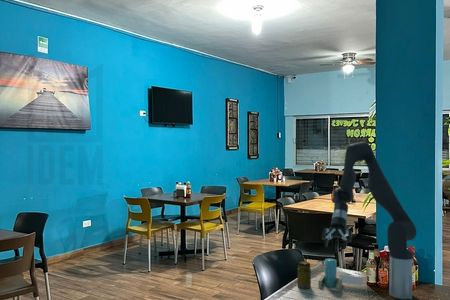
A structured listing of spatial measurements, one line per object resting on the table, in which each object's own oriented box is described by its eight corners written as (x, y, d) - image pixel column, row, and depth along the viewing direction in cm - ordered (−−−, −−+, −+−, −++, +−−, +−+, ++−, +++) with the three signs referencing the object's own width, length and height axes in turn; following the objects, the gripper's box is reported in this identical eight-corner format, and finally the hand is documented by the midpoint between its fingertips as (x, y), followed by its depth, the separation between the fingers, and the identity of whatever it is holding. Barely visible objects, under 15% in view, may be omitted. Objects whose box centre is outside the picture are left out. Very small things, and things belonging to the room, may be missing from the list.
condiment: (303, 284, 190) (303, 259, 190) (317, 289, 184) (317, 263, 184) (293, 288, 186) (293, 262, 185) (307, 293, 179) (307, 266, 179)
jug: (337, 284, 188) (337, 259, 188) (334, 289, 182) (334, 263, 182) (325, 283, 191) (326, 258, 190) (322, 288, 184) (323, 262, 184)
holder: (343, 285, 190) (343, 277, 190) (339, 292, 181) (339, 284, 180) (321, 282, 194) (321, 274, 194) (317, 288, 185) (317, 281, 185)
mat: (363, 278, 199) (363, 277, 199) (360, 286, 189) (360, 284, 189) (340, 275, 203) (340, 274, 203) (336, 282, 193) (336, 281, 193)
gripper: (324, 214, 208) (319, 241, 198) (352, 217, 202) (349, 245, 191) (326, 223, 213) (321, 249, 202) (354, 225, 206) (350, 253, 196)
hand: (335, 247), depth 197 cm, fingers open, 8 cm apart
